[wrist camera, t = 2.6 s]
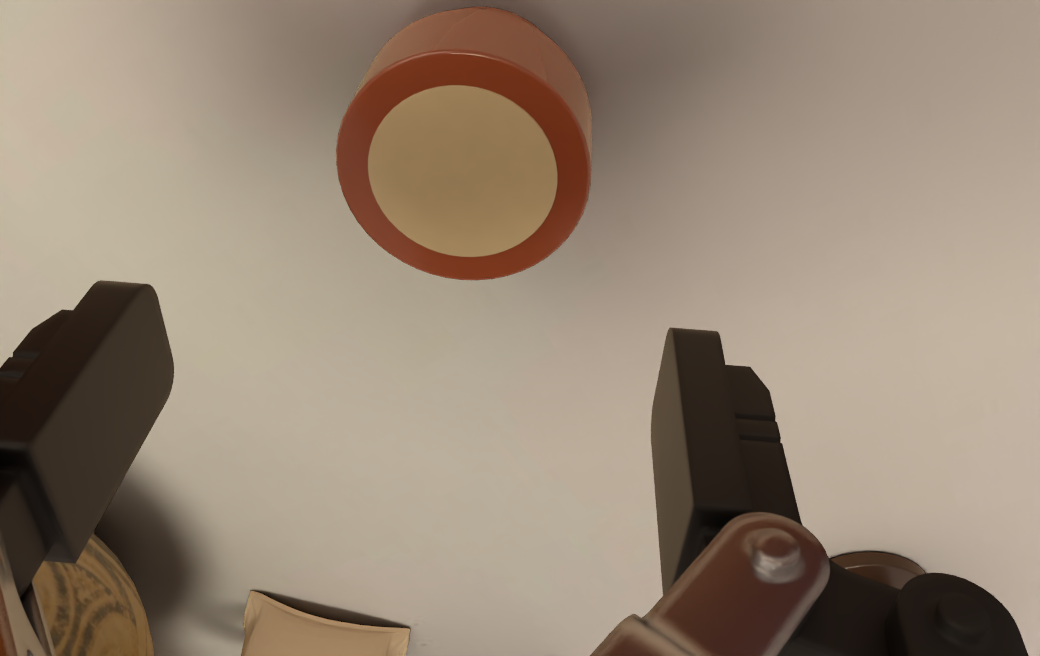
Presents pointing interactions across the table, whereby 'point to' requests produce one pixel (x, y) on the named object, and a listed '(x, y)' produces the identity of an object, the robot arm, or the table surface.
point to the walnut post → (880, 567)
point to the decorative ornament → (313, 633)
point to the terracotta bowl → (468, 145)
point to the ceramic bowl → (93, 606)
